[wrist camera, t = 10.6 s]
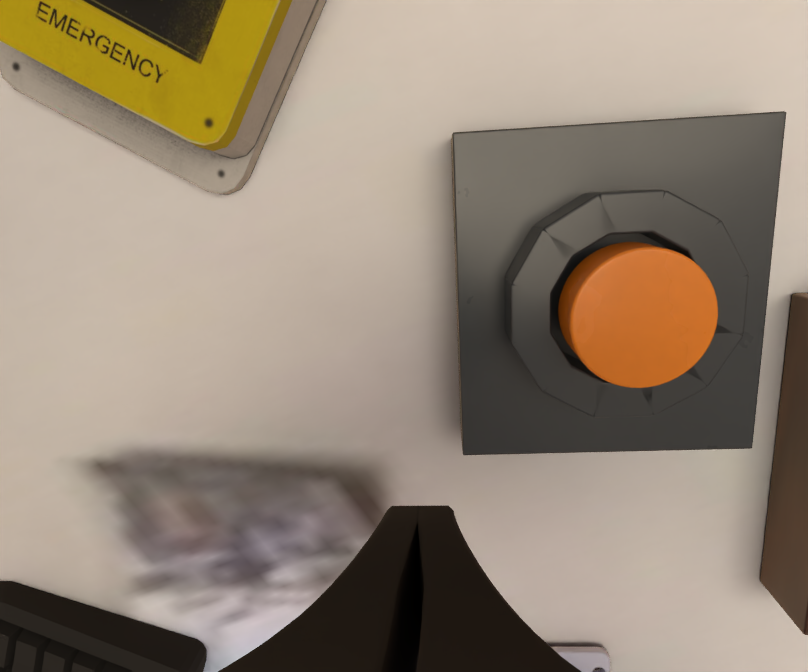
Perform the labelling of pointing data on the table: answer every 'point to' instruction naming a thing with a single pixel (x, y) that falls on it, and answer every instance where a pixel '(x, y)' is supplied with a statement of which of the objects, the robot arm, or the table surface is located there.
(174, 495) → the table surface
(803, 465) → the control panel
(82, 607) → the keyboard
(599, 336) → the button
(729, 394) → the button box
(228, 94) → the emergency button
